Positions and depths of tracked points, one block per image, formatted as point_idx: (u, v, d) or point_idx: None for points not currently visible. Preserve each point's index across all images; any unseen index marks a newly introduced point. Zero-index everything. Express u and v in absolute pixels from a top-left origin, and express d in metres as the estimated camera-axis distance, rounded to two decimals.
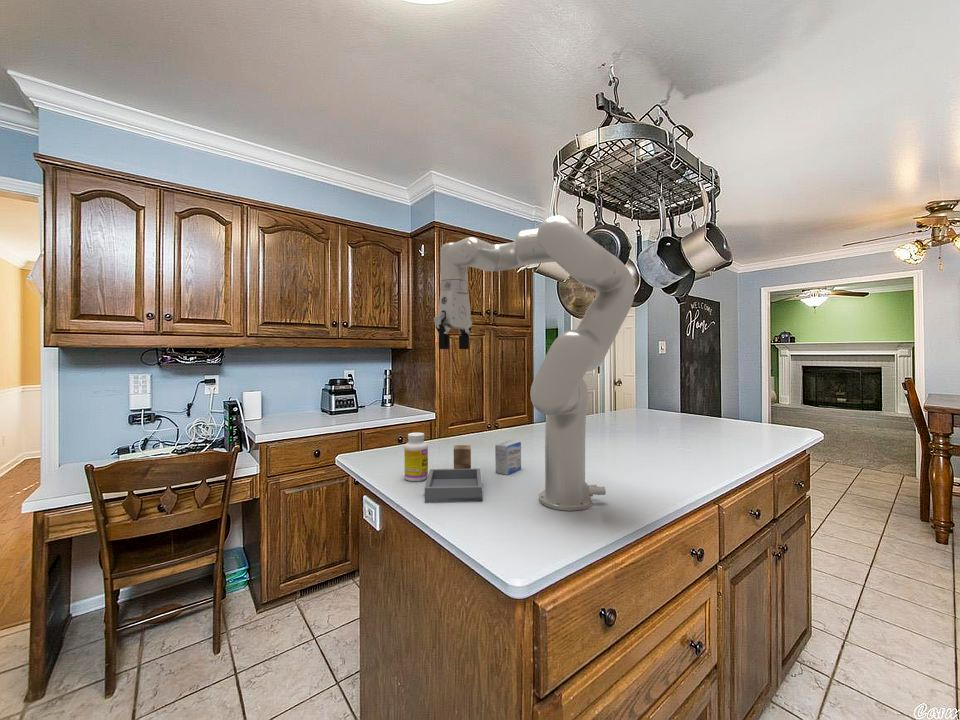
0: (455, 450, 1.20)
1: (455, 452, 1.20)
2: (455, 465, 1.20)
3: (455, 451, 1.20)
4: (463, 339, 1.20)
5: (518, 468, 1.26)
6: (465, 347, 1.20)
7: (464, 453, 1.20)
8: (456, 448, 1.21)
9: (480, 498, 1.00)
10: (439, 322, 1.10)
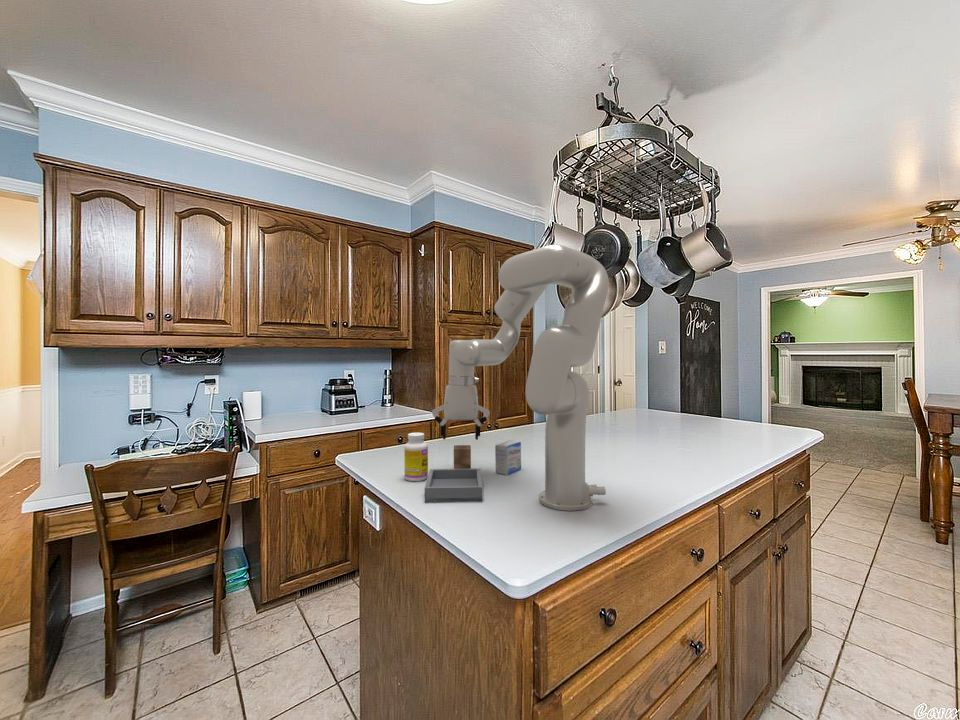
0: (455, 450, 1.20)
1: (455, 452, 1.20)
2: (455, 465, 1.20)
3: (455, 451, 1.20)
4: None
5: (518, 468, 1.26)
6: None
7: (464, 453, 1.20)
8: (456, 448, 1.21)
9: (480, 498, 1.00)
10: None
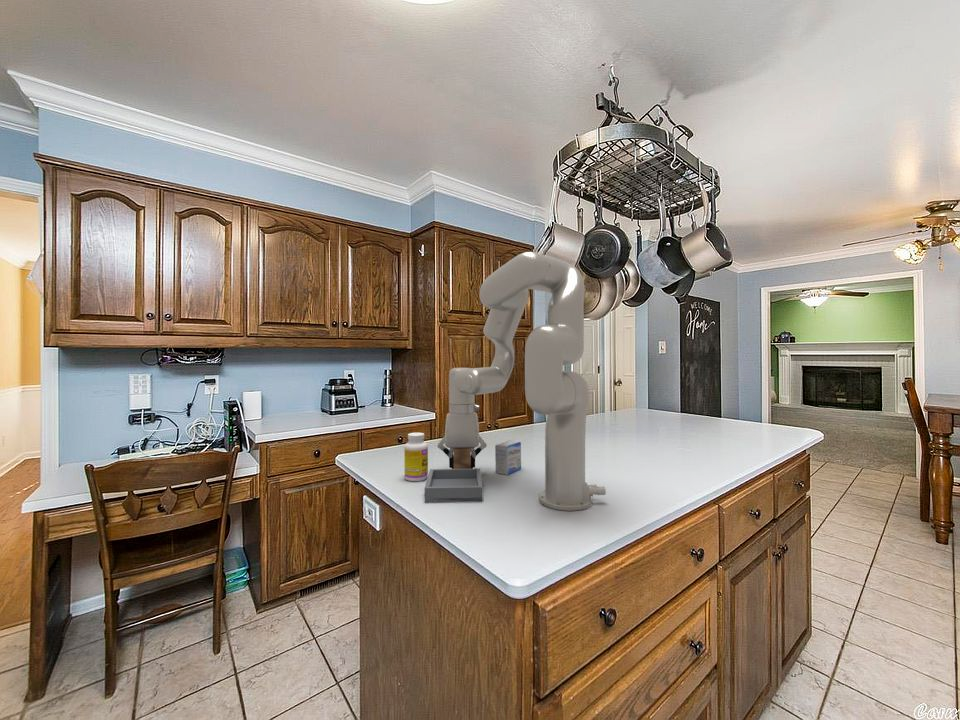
0: (455, 450, 1.20)
1: (455, 452, 1.20)
2: (455, 465, 1.20)
3: (455, 451, 1.20)
4: None
5: (518, 468, 1.26)
6: None
7: (464, 452, 1.20)
8: (456, 448, 1.21)
9: (480, 498, 1.00)
10: None
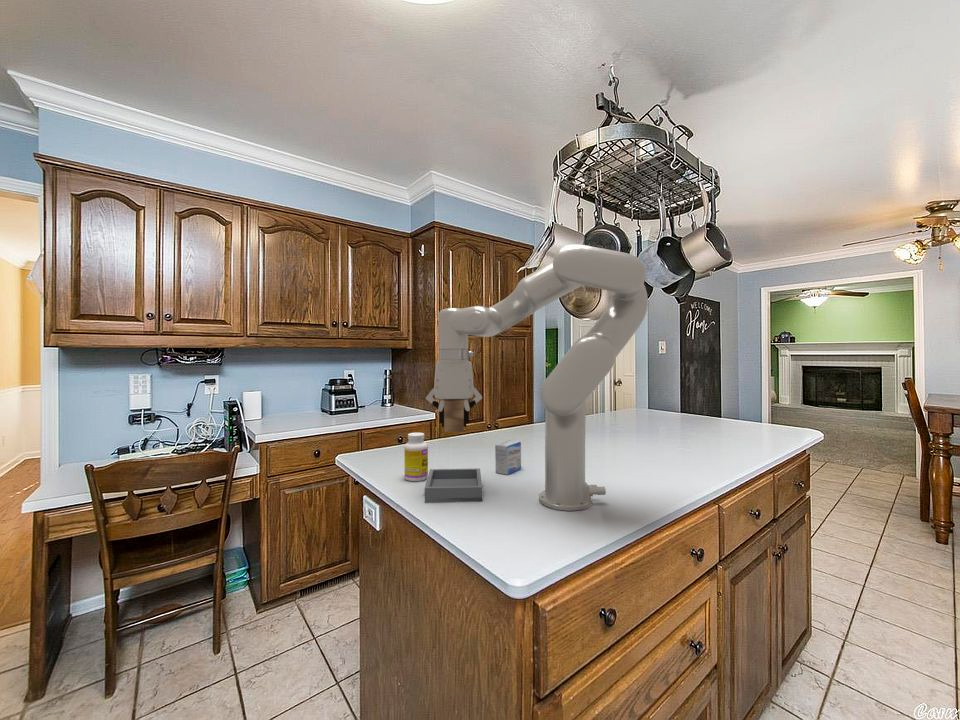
0: (446, 402, 1.05)
1: (446, 404, 1.05)
2: (446, 419, 1.05)
3: (446, 403, 1.05)
4: None
5: (518, 468, 1.26)
6: None
7: (456, 405, 1.05)
8: (447, 400, 1.06)
9: (480, 498, 1.00)
10: None
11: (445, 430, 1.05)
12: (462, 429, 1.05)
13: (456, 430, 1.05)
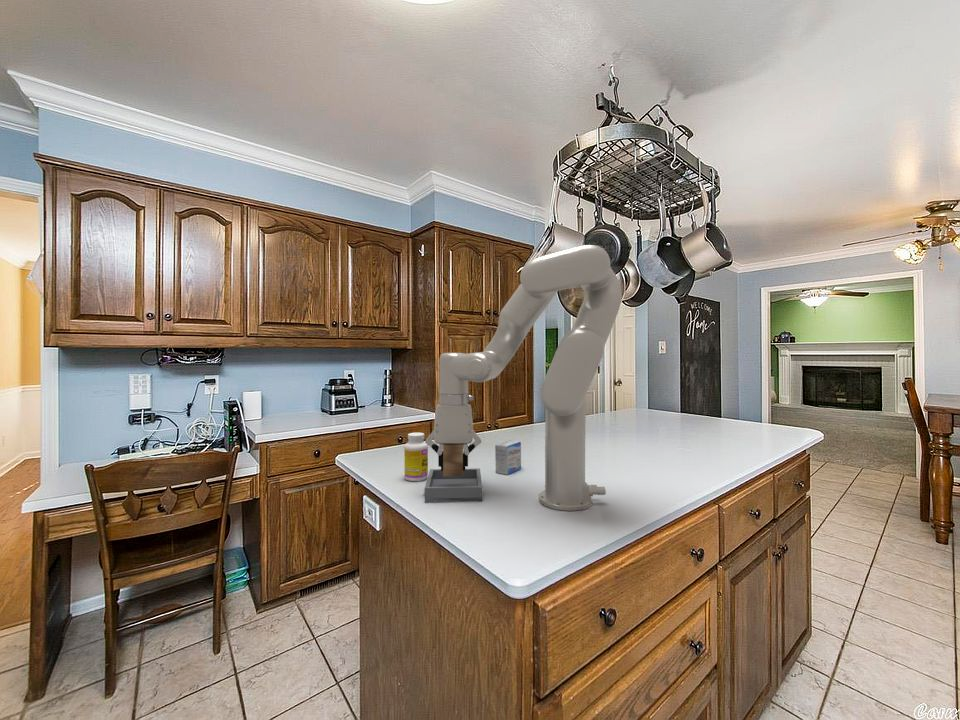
0: (445, 446, 1.05)
1: (445, 448, 1.05)
2: (445, 463, 1.05)
3: (445, 447, 1.05)
4: None
5: (518, 468, 1.26)
6: None
7: (456, 449, 1.05)
8: (446, 444, 1.06)
9: (480, 498, 1.00)
10: None
11: (444, 474, 1.05)
12: (461, 473, 1.05)
13: (455, 474, 1.05)
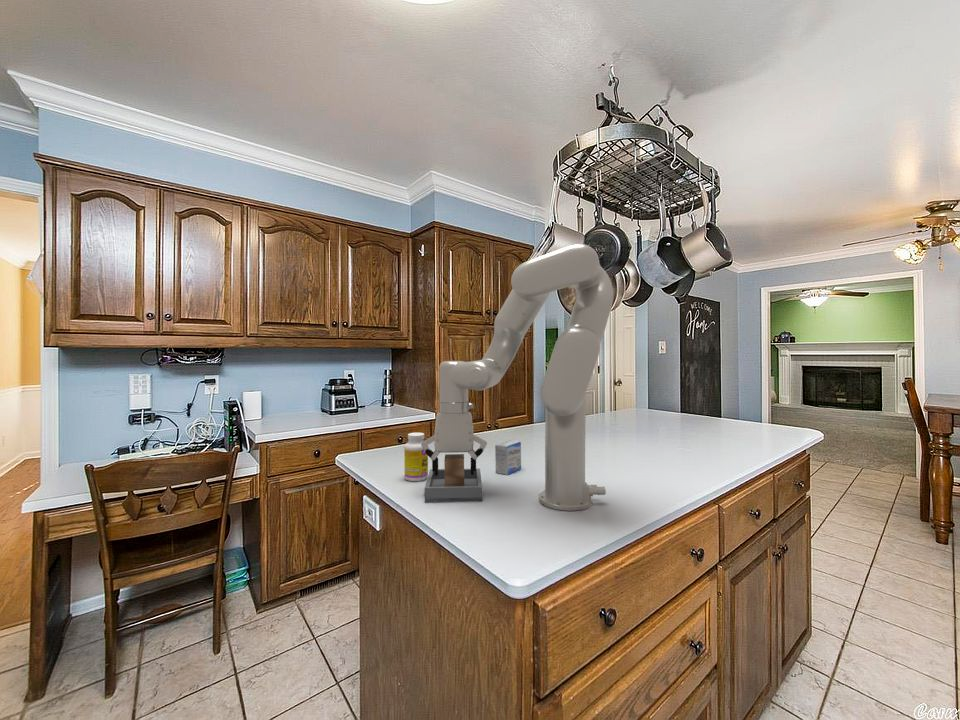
0: (446, 460, 1.05)
1: (446, 463, 1.05)
2: (446, 477, 1.05)
3: (446, 461, 1.05)
4: None
5: (518, 468, 1.26)
6: None
7: (457, 463, 1.05)
8: (447, 458, 1.06)
9: (480, 498, 1.00)
10: None
11: None
12: None
13: None
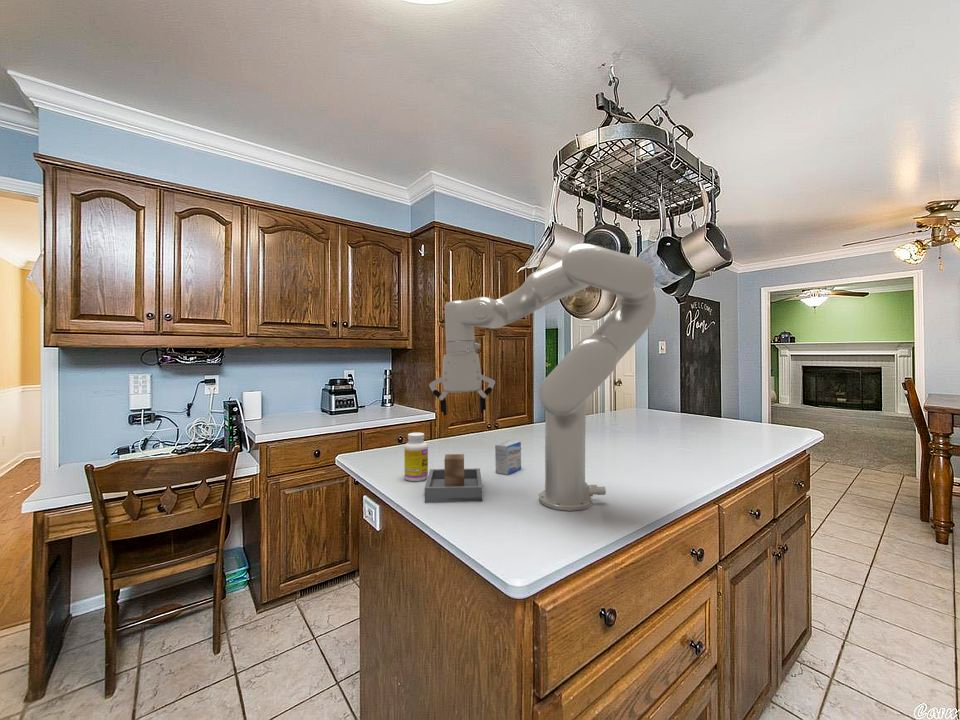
0: (446, 460, 1.05)
1: (446, 463, 1.05)
2: (446, 477, 1.05)
3: (446, 461, 1.05)
4: None
5: (518, 468, 1.26)
6: (446, 412, 1.08)
7: (457, 463, 1.05)
8: (447, 458, 1.06)
9: (480, 498, 1.00)
10: None
11: None
12: None
13: None
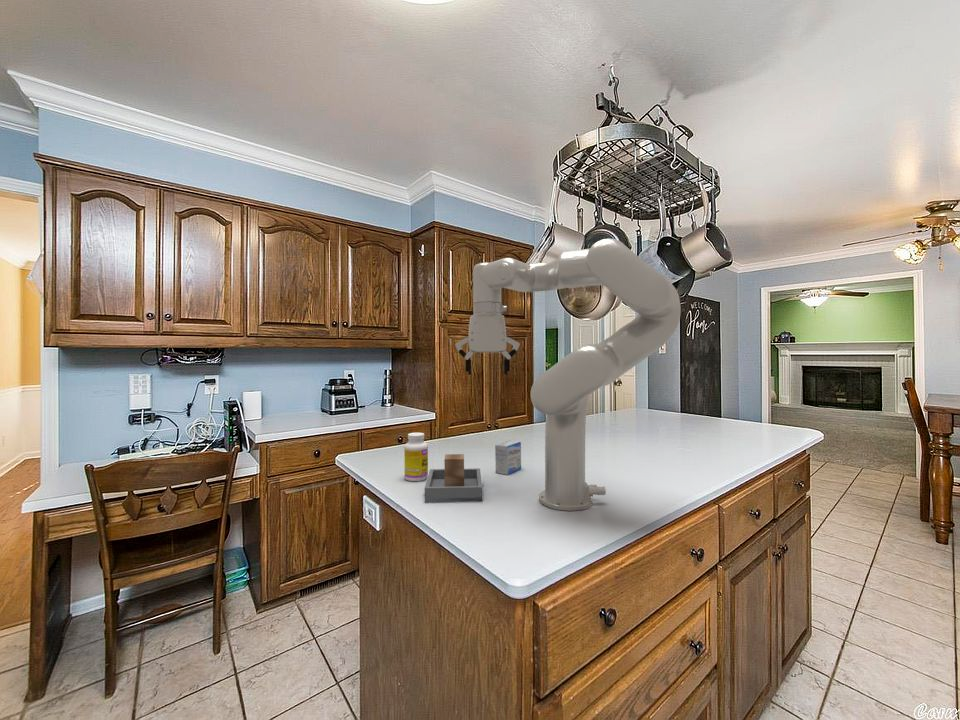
0: (446, 460, 1.05)
1: (446, 463, 1.05)
2: (446, 477, 1.05)
3: (446, 461, 1.05)
4: None
5: (518, 468, 1.26)
6: None
7: (457, 463, 1.05)
8: (447, 458, 1.06)
9: (480, 498, 1.00)
10: None
11: None
12: None
13: None
